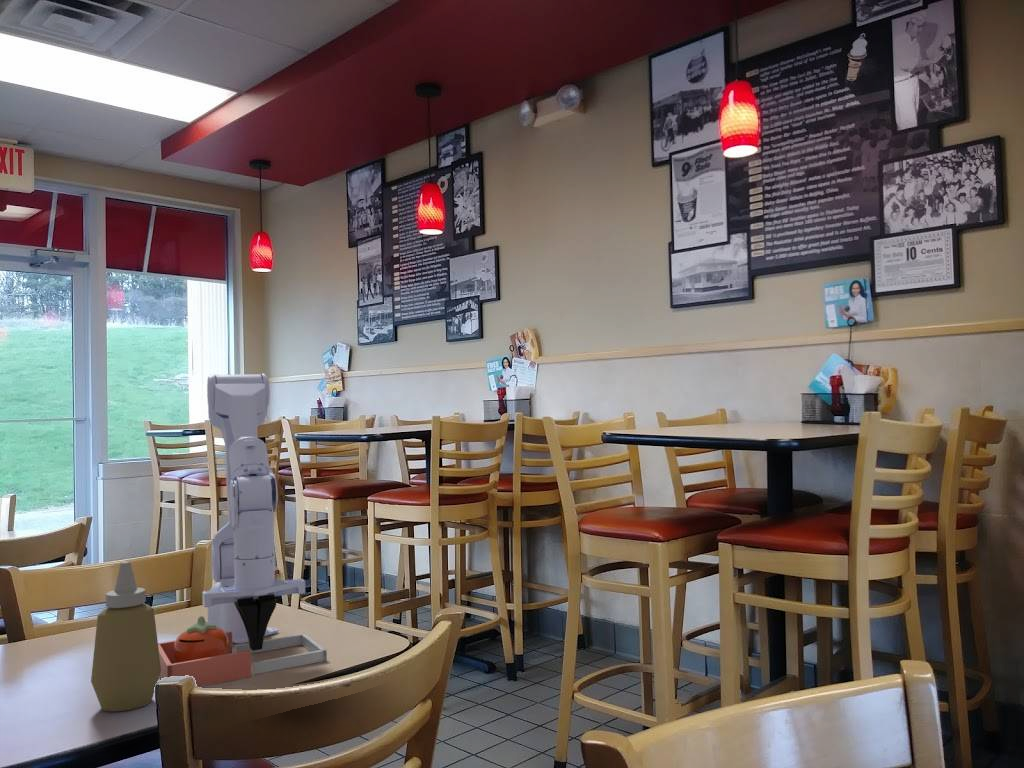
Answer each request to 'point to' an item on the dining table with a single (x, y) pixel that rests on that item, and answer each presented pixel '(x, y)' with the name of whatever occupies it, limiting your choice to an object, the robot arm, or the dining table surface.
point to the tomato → (200, 642)
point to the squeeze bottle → (125, 647)
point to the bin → (206, 665)
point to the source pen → (289, 661)
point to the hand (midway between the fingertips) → (255, 648)
